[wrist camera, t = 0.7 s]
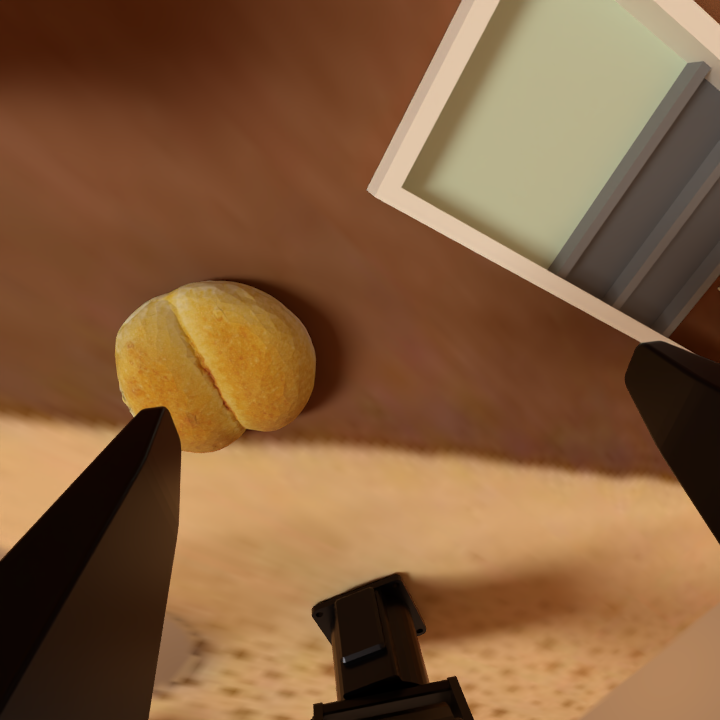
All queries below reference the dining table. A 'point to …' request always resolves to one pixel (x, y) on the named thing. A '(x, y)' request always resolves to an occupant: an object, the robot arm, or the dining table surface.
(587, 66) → the box
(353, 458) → the dining table surface
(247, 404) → the bread roll
